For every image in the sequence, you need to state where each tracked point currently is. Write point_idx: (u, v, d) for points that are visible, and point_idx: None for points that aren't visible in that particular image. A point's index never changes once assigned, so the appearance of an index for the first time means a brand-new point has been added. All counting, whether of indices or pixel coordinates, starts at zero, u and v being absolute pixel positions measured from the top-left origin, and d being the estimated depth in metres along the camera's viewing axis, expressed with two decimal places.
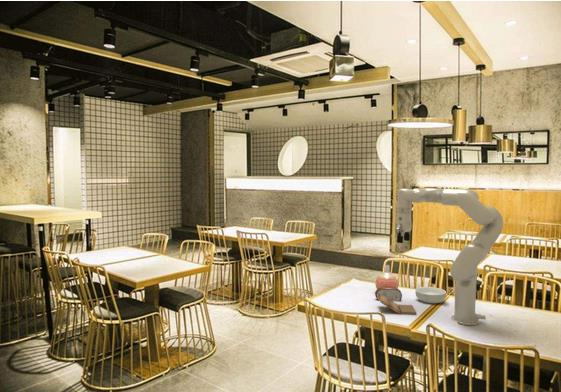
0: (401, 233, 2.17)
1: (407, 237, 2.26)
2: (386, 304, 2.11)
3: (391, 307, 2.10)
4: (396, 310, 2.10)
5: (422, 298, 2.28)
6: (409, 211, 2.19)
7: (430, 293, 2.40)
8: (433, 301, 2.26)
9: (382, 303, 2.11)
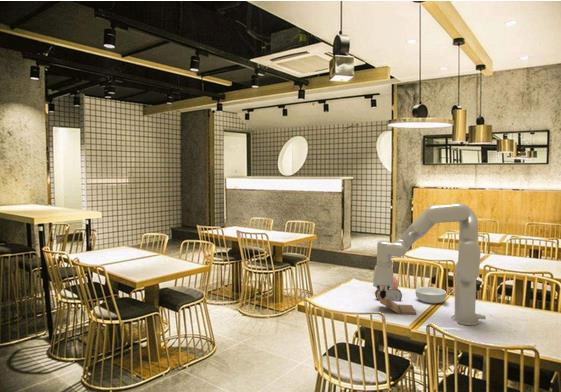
0: None
1: None
2: (386, 304, 2.11)
3: (391, 307, 2.10)
4: (396, 310, 2.10)
5: (422, 298, 2.28)
6: None
7: (430, 293, 2.40)
8: (433, 301, 2.26)
9: (382, 303, 2.11)
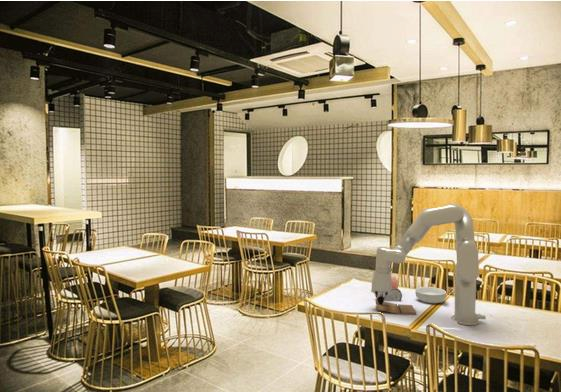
0: None
1: None
2: (383, 309, 2.11)
3: (389, 310, 2.10)
4: (395, 311, 2.10)
5: (422, 298, 2.28)
6: None
7: (430, 293, 2.40)
8: (433, 301, 2.26)
9: (379, 309, 2.11)
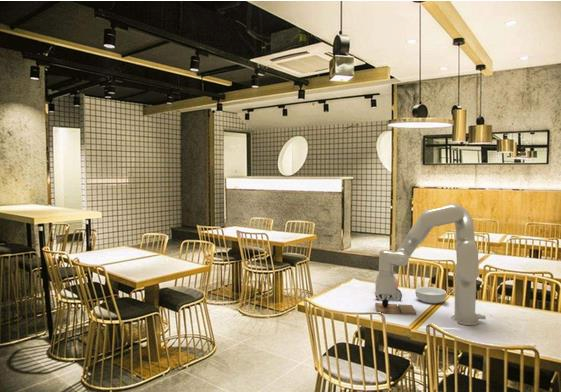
0: None
1: None
2: (383, 311, 2.11)
3: (389, 312, 2.11)
4: (395, 312, 2.10)
5: (422, 298, 2.28)
6: None
7: (430, 293, 2.40)
8: (433, 301, 2.26)
9: None
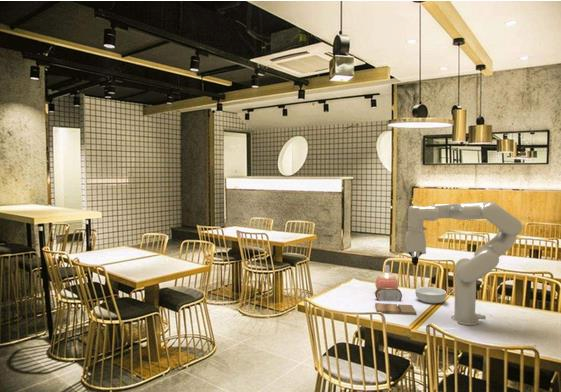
0: None
1: None
2: (383, 311, 2.11)
3: (389, 312, 2.11)
4: (395, 312, 2.10)
5: (422, 298, 2.28)
6: None
7: (430, 293, 2.40)
8: (433, 301, 2.26)
9: None
